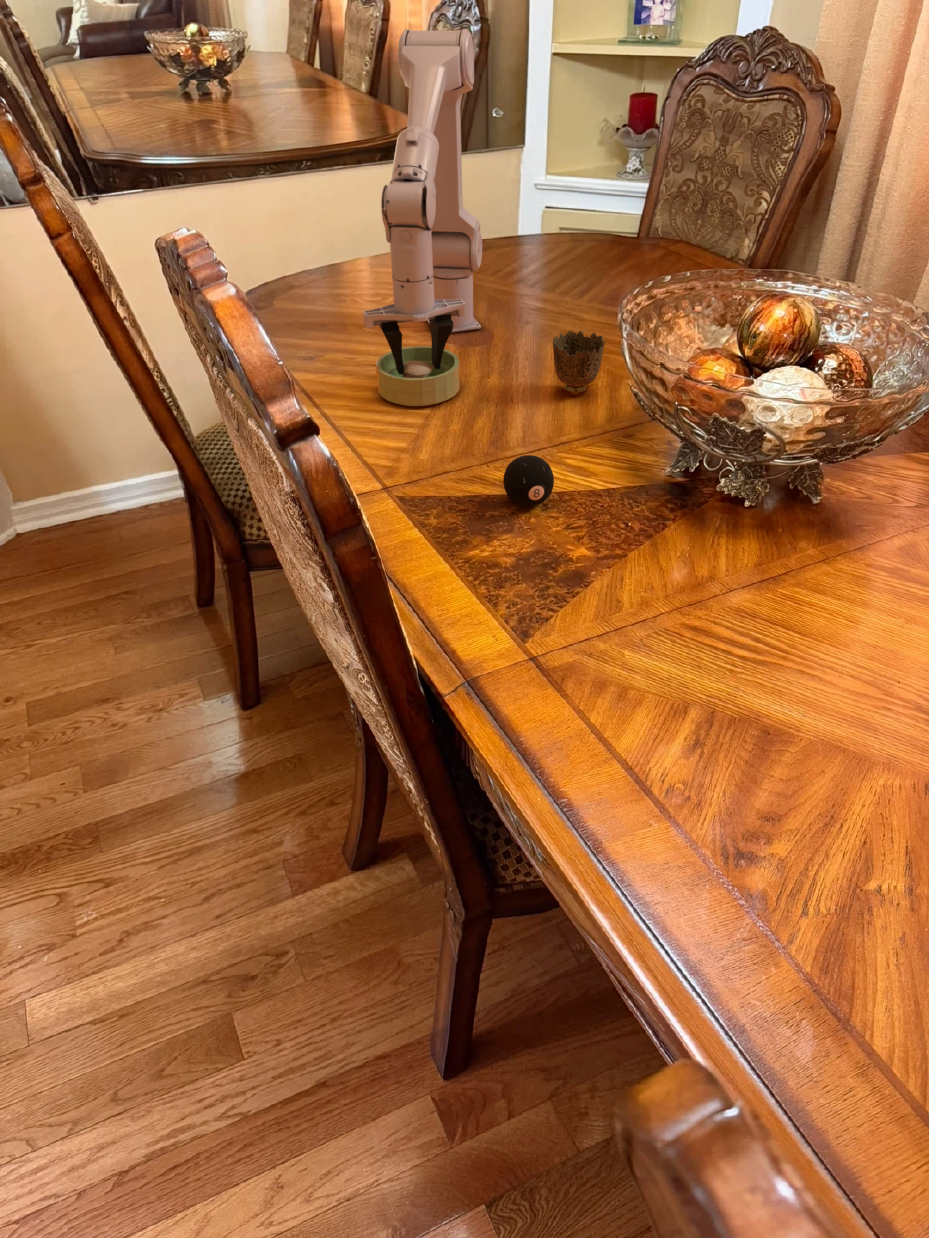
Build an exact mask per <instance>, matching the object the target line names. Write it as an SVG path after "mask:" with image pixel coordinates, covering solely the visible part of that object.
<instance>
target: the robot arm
mask: <svg viewBox="0 0 929 1238" xmlns="http://www.w3.org/2000/svg"><path fill="white" fill-rule="evenodd" d="M473 39H474V38H473V35H472V33H471V32H470V31H469V30H468V29H467V28H463V29H462V30H410V29H404V30H403V31H402V33H401V34H400V36H399V39H398V47H397V62H398V68H399V73H400V76H401V78H402V79H403V82H404V83H403V84H404V86H405V87H406V88H408V89H409V91H408V92H409V94H408V95H409V96H408V109H407V124H406V127H407V128H405V129H403V130H402V131H401V132H400V133H398V136H397V139H396V145H395V151H394V157H393V162H392V169H391V176H390V181H389V183H388V184H384V185H383V187H382V190H381V199H380V205H381V206H380V211H381V219H382V223H383V226H384V230H385V240H386V242H387V243H388V244H389V250H390V265H391V278H392V279H391V280H392V293H393V295H392V296H393V303H392V304H387V305H384V306H381V307H377V308H373V309H367V310H363V311H362V315H363V325H364V327H365V328H366V330H369V329H370V330H371V329H374V328H375V327H379V328H380V330H381V331H382V334H383V336H384V337H385V339H386V342H387V343H388V347H389V349H390V351H392V354H393V357H394V360H395V365H396V370H397V371H398V373H399V374H404V365H403V358H402V348H403V333H402V332H401V330H400V329H401V328H400V325H399V324H405V323H411V322H414V323H419V322H421V323H422V322H427V323H428V325H429V330H430V337H431V338H430V339H431V347H432V364H433V366H434V367H435V369H440V365H441V359H442V355H443V351H444V349H445V348H446V344H447V343H448V340H449V337H450V336H451V334H452V333H459V332H466V331H473V330H480V329H481V328H482V325H481V324H480V323H479V321H478V320H477V319H476V318H475V317H474V272H477V271H478V270H479V269H480V267H481V264H482V258H483V237H482V234H481V232H482V231H481V223H480V220H479V219H478V218H477V217H476V216H475V215H473V214H472V213H471V212H469V211H468V210H467V209H466V208H464V206H463V205H464V203H463V200H464V197H463V166H462V163H463V162H462V159H463V158H462V126H461V125H462V121H461V120H462V119H461V104H462V99H463V94H466V93H468V92H470V91H473V90H474V83H475V51H474V40H473Z"/></svg>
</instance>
